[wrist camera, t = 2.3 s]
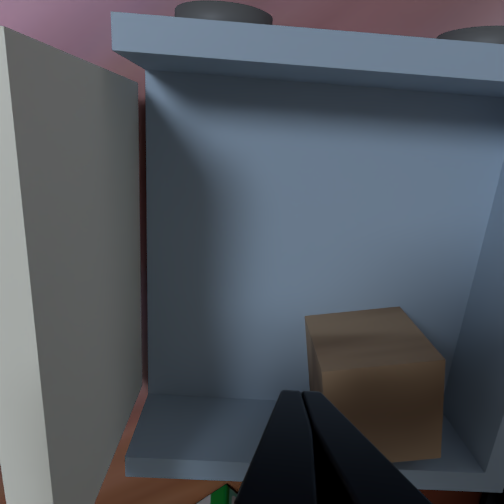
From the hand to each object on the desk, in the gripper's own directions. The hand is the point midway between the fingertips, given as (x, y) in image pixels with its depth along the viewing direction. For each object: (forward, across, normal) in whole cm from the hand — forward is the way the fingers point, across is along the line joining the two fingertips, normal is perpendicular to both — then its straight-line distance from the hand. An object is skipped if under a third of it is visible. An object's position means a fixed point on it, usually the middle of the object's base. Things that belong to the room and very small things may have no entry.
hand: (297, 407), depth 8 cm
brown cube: (+10, -4, +4) cm, 12 cm away
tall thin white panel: (+10, +7, 0) cm, 12 cm away
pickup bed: (+11, -2, 0) cm, 12 cm away
